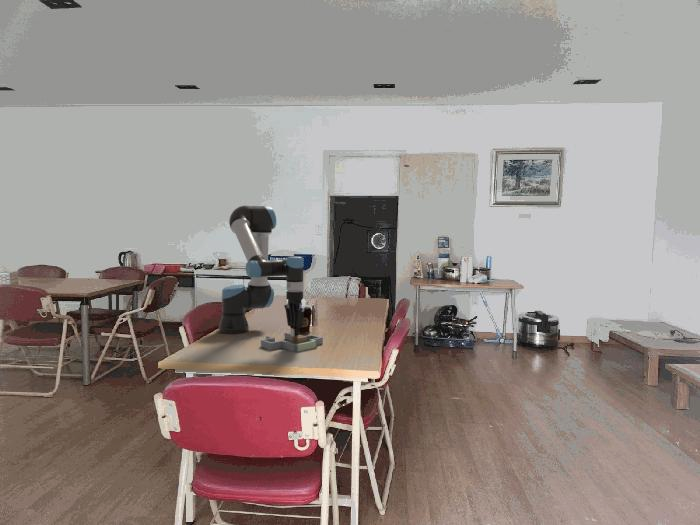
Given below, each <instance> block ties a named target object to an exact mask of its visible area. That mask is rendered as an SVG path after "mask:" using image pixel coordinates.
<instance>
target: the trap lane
mask: <svg viewBox="0 0 700 525" xmlns="http://www.w3.org/2000/svg"><path fill="white" fill-rule="evenodd" d="M305 336H306V337H307V342H305V343H301V344H293V343H291V332H290V333H289V332H287V331H285V332H284V339H285V340H278V341H276V338H275V337H272V336H269V335H266V336H265V339H260V347H261V348H264V349H267V350H270V351H273V350H277V349H286V350H288V351H291V352H295V353H297V352H302V351H306V350H311V349H315V348H318V346H319V345H320V346H321V345H323V344H324V338H323V337H322V336H318V335H314V334H307V335H305ZM286 340H289V341H286Z"/></svg>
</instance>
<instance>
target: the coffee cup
mask: <svg viewBox="0 0 700 525" xmlns="http://www.w3.org/2000/svg"><path fill="white" fill-rule="evenodd" d="M304 307H305V308H306V310H305V312H304V317H303V323H302V327H300V328H299V334H301V335H303V334H304V335H305V334H310V333H311V331H310V329H311V325H312V314H313V309H312V307H311V306H310V307H309V306H304Z"/></svg>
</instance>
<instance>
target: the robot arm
mask: <svg viewBox="0 0 700 525" xmlns="http://www.w3.org/2000/svg"><path fill="white" fill-rule="evenodd" d="M228 222H229V228H230V230H231V231H232V233H233V234H235V235H236V238H237V240H238V243H239V245H240V247H241V250H242V252H243V254H244V256H245V259H246V263H245V271H246V272H245V273H246V275H247V277H249V278H250V281H249V282H248V283H247V287H246V285H244V284H233V285H229V286H225V287H224V288H222V291H221V319H220V321H219V325H218V332H219V333H221V334H241V333H242V334H243V333H247V332H248V331H249V329H250V327H249V322H248V320H247V316H246V310H255V309H261V310H262V309H266V308H269V307H271V305H272V304H273V302H274V299H275V298H274V297H275V290H274V287H273V286H271V283H270V282H269V280H268V277H286V278H285V279H286V293H285V294H286V297H285V299H286V300H287V303H286V304H284V306H283V307H284V309H285V314H286V321H287V326H288V327H290V333H291V336H297V335H300V333H299V328H300V327H302V323H303V317H304V312H305V310H306V308H305V307H306V306H303V302H302V300H303V299H304V291H303V290H304V259H303V257H302V256H288V257H286V258H285V259H284V258H283V259H282V258H281V259H269V243H270V242H269V239H270V238H269V237H270V235H272V234H273V230H274V229H275V228H276V226H277V216H276V213H275V211H274V209H273V208H272V207H271V206H265V205H240V206H238V207H236V208H235V209H234V210H233V211H232V212H231V214H230V216H229V220H228Z"/></svg>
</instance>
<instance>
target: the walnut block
mask: <svg viewBox="0 0 700 525" xmlns="http://www.w3.org/2000/svg"><path fill="white" fill-rule="evenodd" d="M306 336H307V335H303V334H299V335H297V336H291V340H290V343H293V344H301V343H305V342H307V337H306Z"/></svg>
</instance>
